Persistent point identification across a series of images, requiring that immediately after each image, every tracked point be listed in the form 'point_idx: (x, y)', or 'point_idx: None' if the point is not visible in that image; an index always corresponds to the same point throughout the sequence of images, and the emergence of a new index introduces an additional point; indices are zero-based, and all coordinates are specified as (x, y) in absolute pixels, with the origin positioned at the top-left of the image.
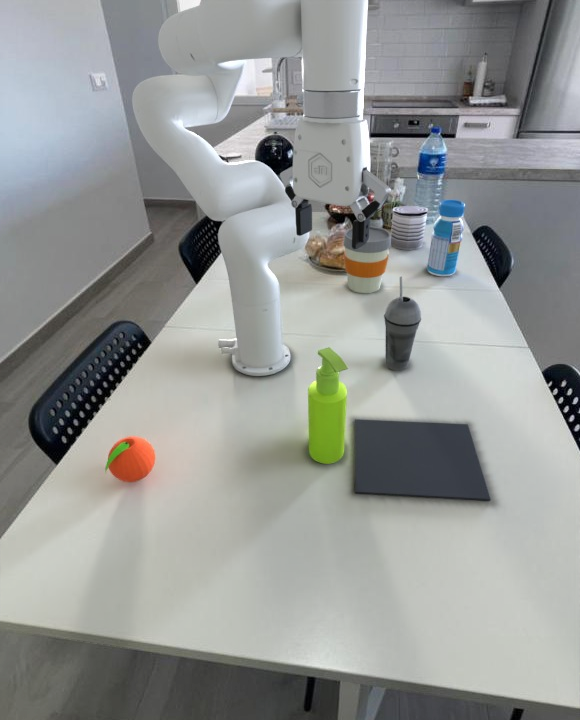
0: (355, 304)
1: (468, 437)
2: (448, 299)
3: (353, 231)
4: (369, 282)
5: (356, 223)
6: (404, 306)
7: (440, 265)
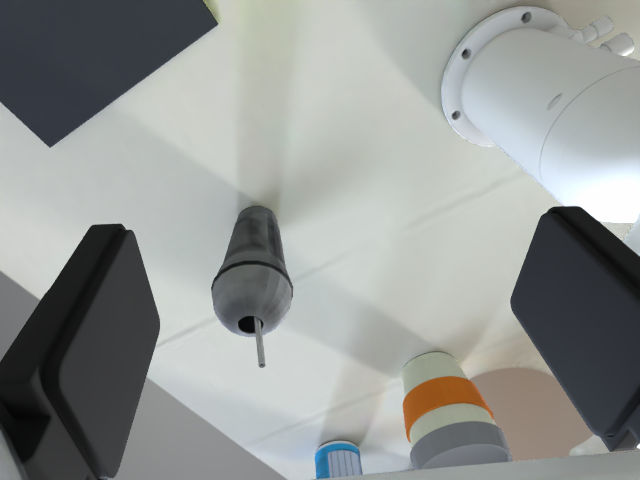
0: (416, 324)
1: (22, 115)
2: (286, 403)
3: (71, 304)
4: (416, 377)
5: (2, 367)
6: (237, 305)
7: (334, 459)
